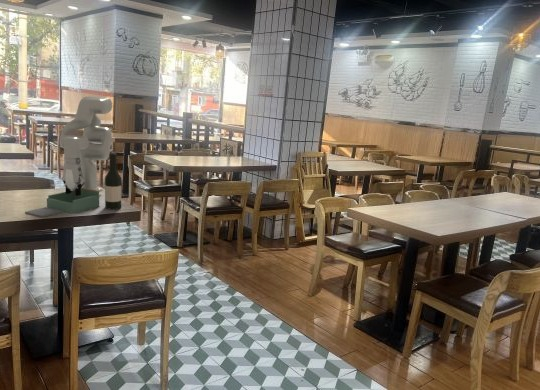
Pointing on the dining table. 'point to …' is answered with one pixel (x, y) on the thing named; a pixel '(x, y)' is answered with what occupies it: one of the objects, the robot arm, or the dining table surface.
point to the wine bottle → (112, 186)
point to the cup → (70, 180)
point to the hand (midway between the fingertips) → (73, 194)
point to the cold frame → (74, 201)
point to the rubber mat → (43, 212)
